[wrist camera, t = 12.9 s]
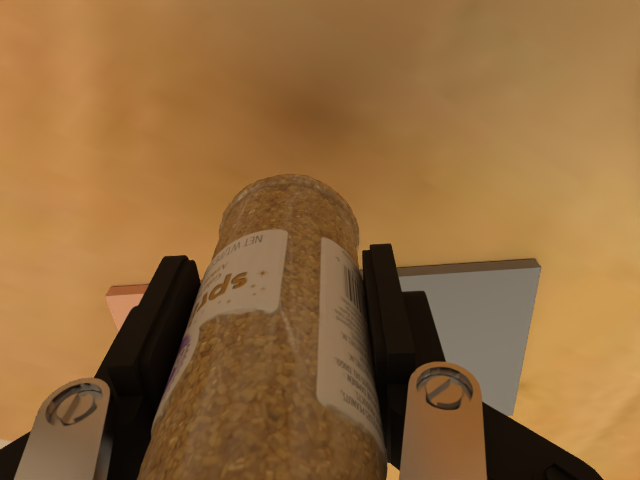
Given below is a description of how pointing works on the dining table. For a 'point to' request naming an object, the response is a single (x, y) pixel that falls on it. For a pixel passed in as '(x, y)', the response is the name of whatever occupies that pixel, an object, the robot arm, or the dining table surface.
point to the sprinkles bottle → (275, 350)
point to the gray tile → (481, 319)
